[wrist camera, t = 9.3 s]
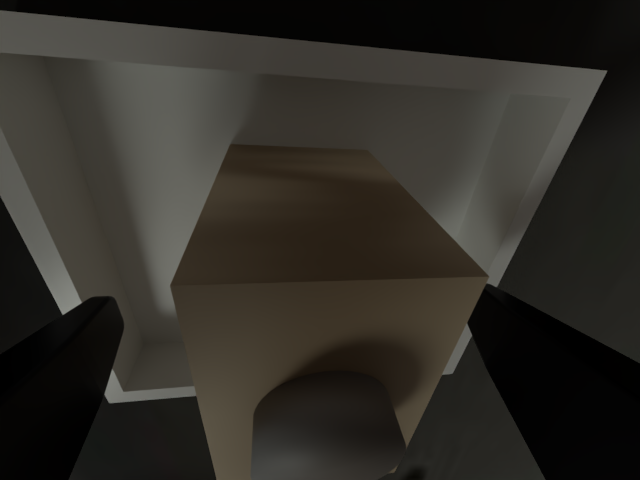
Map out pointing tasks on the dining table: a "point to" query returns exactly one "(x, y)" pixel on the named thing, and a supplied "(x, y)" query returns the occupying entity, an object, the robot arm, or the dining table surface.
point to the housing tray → (248, 129)
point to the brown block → (316, 313)
